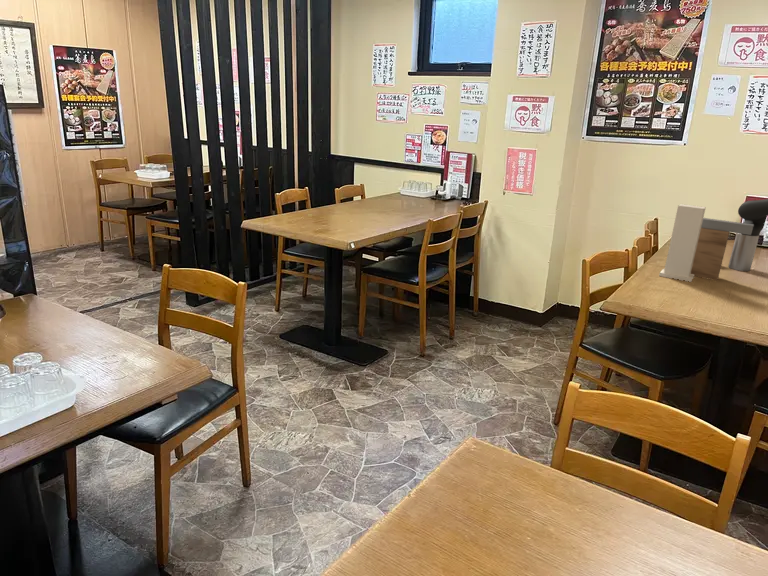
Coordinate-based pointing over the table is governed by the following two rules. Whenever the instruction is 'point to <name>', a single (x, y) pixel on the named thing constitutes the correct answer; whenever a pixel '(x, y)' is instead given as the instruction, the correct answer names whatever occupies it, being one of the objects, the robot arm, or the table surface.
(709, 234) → the brown wooden block
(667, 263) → the tall stand
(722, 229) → the grey block
